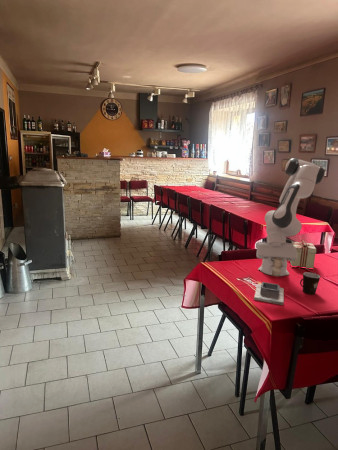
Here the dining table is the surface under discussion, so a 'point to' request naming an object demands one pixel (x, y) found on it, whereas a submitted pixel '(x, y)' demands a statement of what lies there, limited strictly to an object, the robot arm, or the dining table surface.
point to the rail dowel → (277, 267)
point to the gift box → (304, 254)
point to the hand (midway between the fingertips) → (277, 266)
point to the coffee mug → (310, 283)
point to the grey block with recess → (269, 293)
